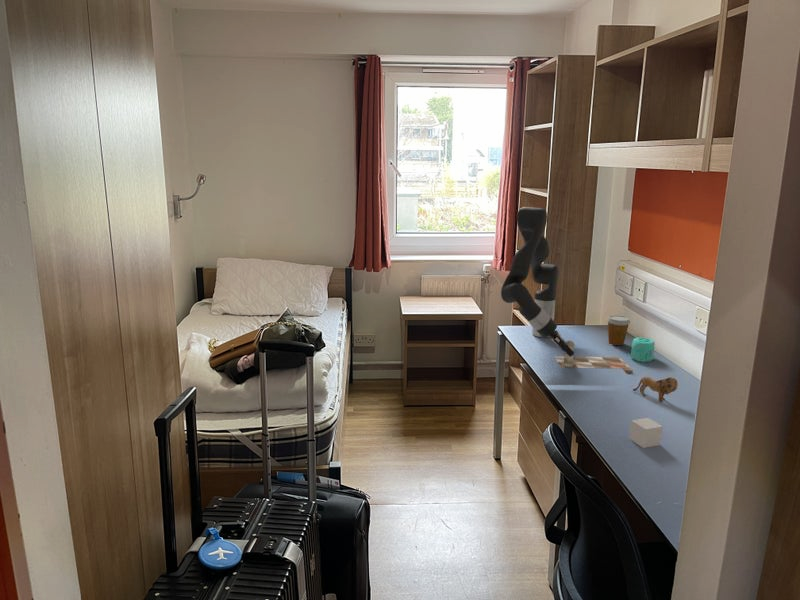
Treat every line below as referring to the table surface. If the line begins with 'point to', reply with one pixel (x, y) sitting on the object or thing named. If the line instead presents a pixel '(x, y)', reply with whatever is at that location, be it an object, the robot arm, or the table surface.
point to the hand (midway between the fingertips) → (569, 351)
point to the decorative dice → (642, 349)
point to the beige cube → (645, 432)
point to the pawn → (567, 359)
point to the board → (584, 363)
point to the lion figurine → (658, 386)
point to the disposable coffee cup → (617, 329)
